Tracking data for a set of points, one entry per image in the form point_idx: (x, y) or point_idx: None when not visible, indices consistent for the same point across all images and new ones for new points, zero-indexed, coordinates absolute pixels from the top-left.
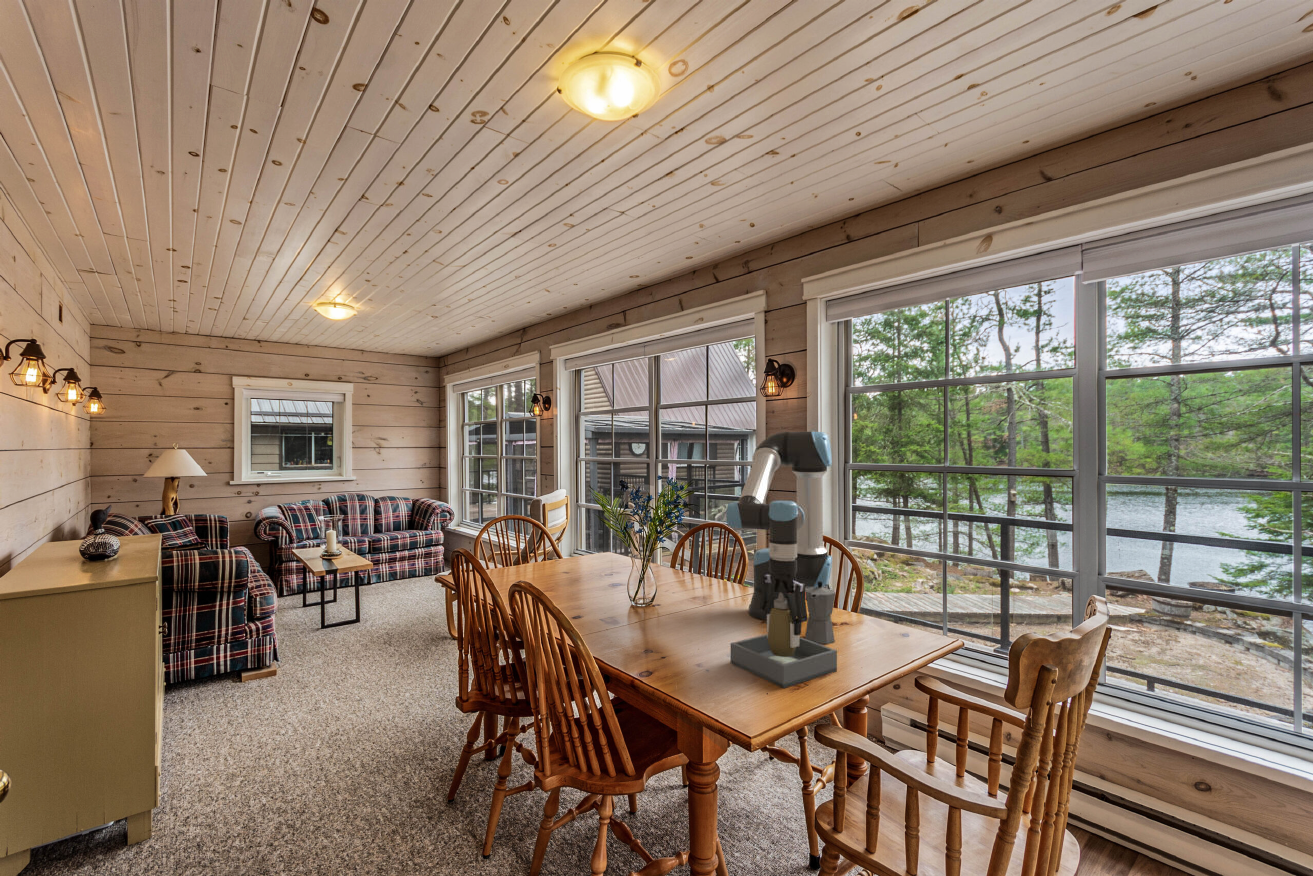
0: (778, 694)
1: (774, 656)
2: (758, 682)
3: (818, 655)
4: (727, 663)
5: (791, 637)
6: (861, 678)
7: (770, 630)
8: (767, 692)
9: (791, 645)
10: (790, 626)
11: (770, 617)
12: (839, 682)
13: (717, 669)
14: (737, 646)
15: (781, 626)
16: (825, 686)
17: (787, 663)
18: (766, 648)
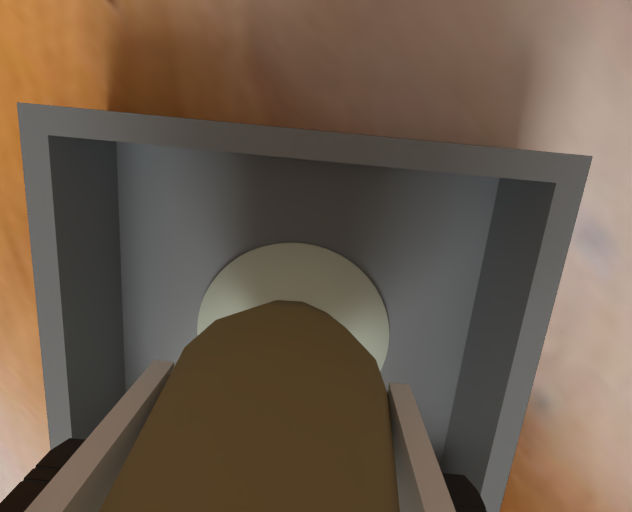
0: (67, 36)
1: None
2: (235, 73)
3: (52, 424)
4: (526, 141)
5: (123, 406)
6: (17, 469)
7: (311, 370)
8: (115, 6)
9: (155, 368)
10: (75, 485)
11: (333, 496)
12: (30, 375)
13: (512, 20)
14: (509, 148)
15: (158, 431)
16: (27, 296)
17: (43, 166)
18: (460, 407)
